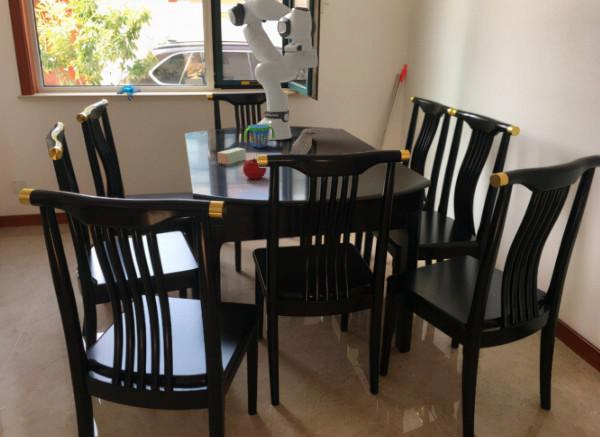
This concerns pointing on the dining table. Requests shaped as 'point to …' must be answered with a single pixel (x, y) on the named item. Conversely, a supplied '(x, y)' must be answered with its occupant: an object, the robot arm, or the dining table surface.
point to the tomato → (253, 169)
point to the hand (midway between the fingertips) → (301, 79)
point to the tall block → (231, 155)
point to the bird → (303, 142)
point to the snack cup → (258, 135)
